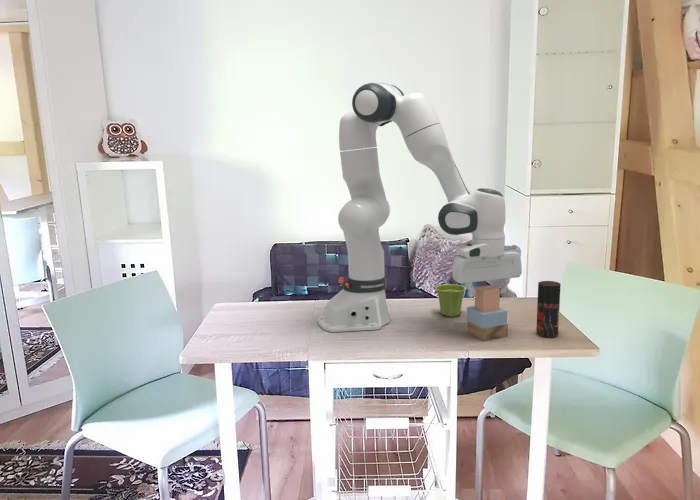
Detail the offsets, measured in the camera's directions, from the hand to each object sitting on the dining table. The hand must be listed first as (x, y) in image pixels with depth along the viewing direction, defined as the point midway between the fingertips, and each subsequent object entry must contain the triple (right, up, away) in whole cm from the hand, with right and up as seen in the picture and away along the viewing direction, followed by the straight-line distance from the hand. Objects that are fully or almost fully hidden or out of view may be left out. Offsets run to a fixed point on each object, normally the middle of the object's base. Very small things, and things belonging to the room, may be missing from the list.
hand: (486, 295), depth 166 cm
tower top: (0, -8, +1) cm, 8 cm away
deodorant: (+17, -12, +1) cm, 21 cm away
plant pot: (-7, -8, +22) cm, 24 cm away
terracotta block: (0, -4, +1) cm, 4 cm away
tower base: (+1, -12, +2) cm, 12 cm away
